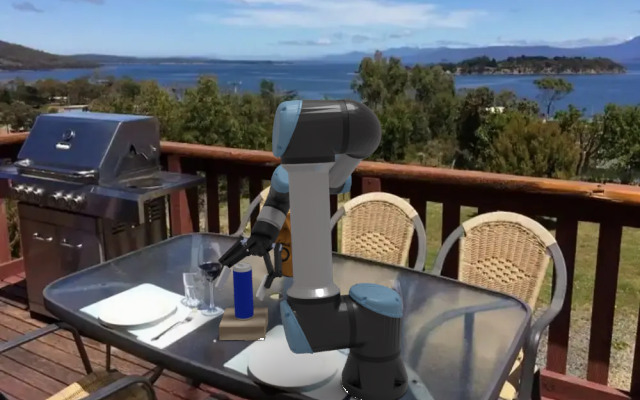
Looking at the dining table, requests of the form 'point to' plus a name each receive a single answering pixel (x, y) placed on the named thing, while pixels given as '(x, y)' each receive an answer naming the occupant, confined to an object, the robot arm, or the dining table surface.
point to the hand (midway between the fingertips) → (237, 293)
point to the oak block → (243, 325)
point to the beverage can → (243, 291)
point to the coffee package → (286, 247)
